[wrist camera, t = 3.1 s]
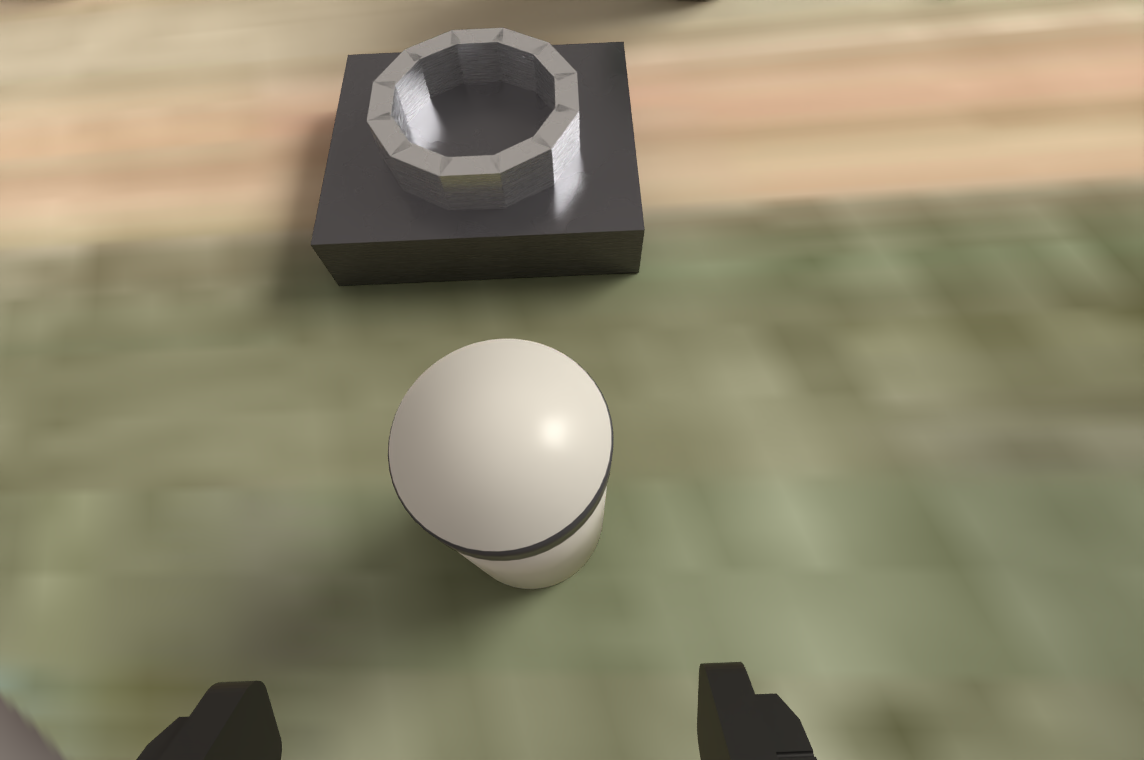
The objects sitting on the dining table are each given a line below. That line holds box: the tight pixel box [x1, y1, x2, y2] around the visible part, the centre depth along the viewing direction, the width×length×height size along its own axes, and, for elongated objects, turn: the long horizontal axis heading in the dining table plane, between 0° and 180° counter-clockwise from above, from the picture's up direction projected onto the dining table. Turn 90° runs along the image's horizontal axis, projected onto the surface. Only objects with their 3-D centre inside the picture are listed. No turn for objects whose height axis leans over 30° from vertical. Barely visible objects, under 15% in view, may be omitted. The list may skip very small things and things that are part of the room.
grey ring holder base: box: [311, 28, 644, 286], centre depth 27 cm, size 14×12×5 cm
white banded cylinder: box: [388, 339, 613, 589], centre depth 18 cm, size 6×6×9 cm
